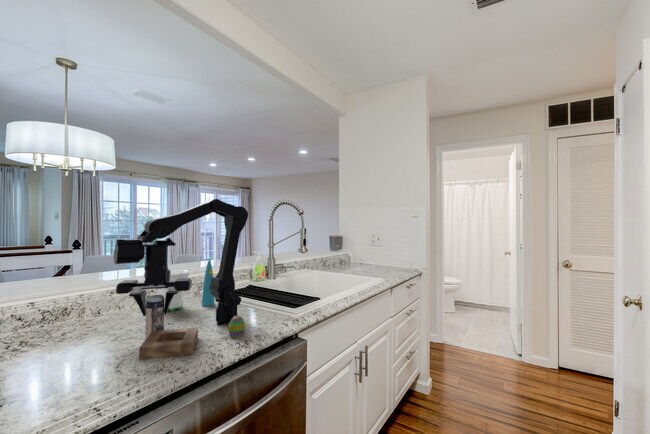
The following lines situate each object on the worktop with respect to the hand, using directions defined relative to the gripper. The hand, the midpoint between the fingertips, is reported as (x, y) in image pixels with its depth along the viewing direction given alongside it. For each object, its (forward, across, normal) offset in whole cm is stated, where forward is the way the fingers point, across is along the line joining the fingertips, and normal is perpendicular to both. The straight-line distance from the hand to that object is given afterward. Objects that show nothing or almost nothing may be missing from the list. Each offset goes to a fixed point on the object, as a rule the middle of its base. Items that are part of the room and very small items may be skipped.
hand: (155, 315), depth 89 cm
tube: (+7, -12, -34) cm, 37 cm away
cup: (+7, +1, -31) cm, 32 cm away
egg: (+7, -23, +4) cm, 24 cm away
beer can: (+7, 0, 0) cm, 7 cm away
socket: (+6, -6, +9) cm, 13 cm away
